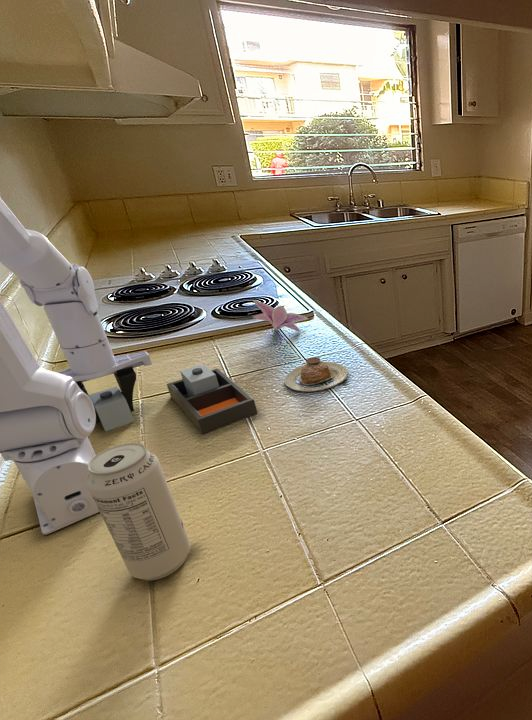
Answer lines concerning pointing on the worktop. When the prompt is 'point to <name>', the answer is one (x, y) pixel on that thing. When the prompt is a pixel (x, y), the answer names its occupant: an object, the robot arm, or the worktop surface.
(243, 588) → the worktop surface
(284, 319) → the lily
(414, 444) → the worktop surface
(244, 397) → the tray
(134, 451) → the energy drink can
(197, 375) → the grey block with knob
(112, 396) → the grey knobbed block
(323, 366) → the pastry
